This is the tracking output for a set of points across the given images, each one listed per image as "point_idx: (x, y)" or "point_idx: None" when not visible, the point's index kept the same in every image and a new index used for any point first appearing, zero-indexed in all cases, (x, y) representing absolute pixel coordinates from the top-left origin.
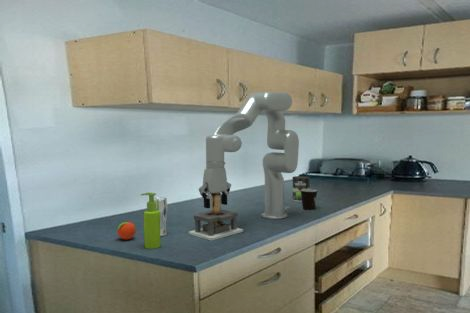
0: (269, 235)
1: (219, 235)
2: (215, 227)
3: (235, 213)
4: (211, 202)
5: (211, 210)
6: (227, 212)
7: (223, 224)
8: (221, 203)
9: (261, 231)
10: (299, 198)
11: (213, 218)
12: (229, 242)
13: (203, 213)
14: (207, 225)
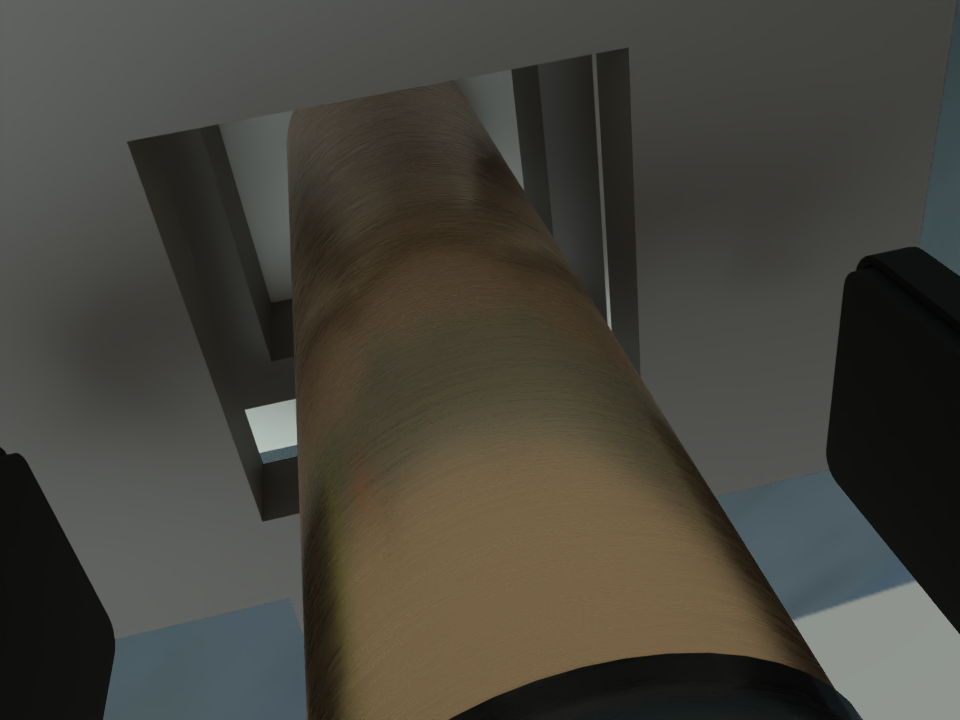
0: (825, 591)
1: (259, 438)
2: (258, 378)
3: (818, 468)
4: (302, 550)
5: (297, 348)
6: (761, 326)
7: (549, 223)
8: (850, 292)
9: None
10: None
11: (133, 631)
12: (273, 617)
13: (113, 25)
14: (180, 155)
